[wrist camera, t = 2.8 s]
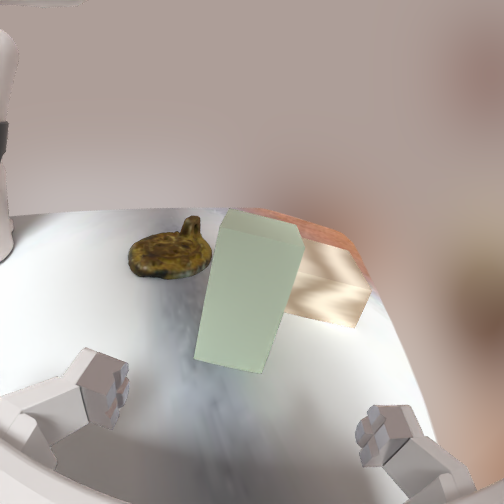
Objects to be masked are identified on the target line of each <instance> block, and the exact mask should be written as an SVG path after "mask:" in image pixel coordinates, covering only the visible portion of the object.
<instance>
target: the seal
mask: <svg viewBox="0 0 504 504" xmlns="http://www.w3.org/2000/svg"><path fill="white" fill-rule="evenodd" d="M211 258H212V250H211V248H210V246H209V244H208V243H207V242H206V241H205V240H204V239H203V238H202V236H201V233H200V217H198V216H190V217H188V218H186V219H185V221H184V224H183V226H182V229H181V232H180V233H179V232H178V231H176V232H175V233H173V232H167V233H160V234H156V235H152V236H149V237H146V238H144V239H141V240H140V241H138V242H136V243H134V244H133V245H132V247H131V248H130V251H129V255H128V260H129V263H128V264H129V266H130V269H131V270H132V272H133V273H134V274H136V275H138V276H142V277H144V276H150V277H159V278H162V279H178V278H185V277H189V276H193V275H195V274H197V273H199V272H200V271H202V270H204V269H205V268H206V267H207V266H208V265H209V263H210V261H211Z"/></svg>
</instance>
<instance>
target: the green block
mask: <svg viewBox="0 0 504 504" xmlns="http://www.w3.org/2000/svg"><path fill="white" fill-rule="evenodd" d="M304 250H305V246H304V243H303V241H302V238H301V236H300V233H299V231H298V228H297V226H296V225H295V224H291V223H287V222H283V221H279V220H275V219H271V218H267V217H263V216H259V215H255V214H251V213H247V212H243V211H239V210H234V209H230V208H229V210H228V212H227V214H226V216H225V217H224V219H223V221H222V223H221V225H220V228H219V232H218V237H217V242H216V246H215V251H214V256H213V261H212V265H211V270H210V275H209V280H208V285H207V290H206V295H205V300H204V305H203V311H202V316H201V321H200V327H199V332H198V337H197V343H196V349H195V354H194V359H195V360H199V361H203V362H207V363H211V364H216V365H220V366H224V367H229V368H234V369H238V370H243V371H248V372H254V373H259V374H262V371H263V368H264V366H265V363H266V360H267V358H268V355H269V352H270V349H271V347H272V344H273V341H274V338H275V336H276V333H277V330H278V327H279V325H280V322H281V319H282V316H283V313H284V310H285V307H286V305H287V302H288V299H289V296H290V293H291V290H292V287H293V284H294V281H295V278H296V275H297V272H298V269H299V266H300V263H301V260H302V257H303V253H304Z"/></svg>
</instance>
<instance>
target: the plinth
mask: <svg viewBox="0 0 504 504" xmlns="http://www.w3.org/2000/svg"><path fill="white" fill-rule="evenodd" d="M302 241H303V243H304V246H305V250H304V253H303V257H302V260H301V263H300V266H299V269H298V272H297V275H296V278H295V281H294V284H293V287H292V290H291V293H290V296H289V299H288V302H287V305H286V307H285V310H284V312H285V313H289V314H293V315H298V316H302V317H306V318H310V319H315V320H319V321H323V322H328V323H332V324H337V325H341V326H346V327H351V328H355V327H356V324H357V322H358V320H359V318H360V316H361V314H362V312H363V310H364V307H365V305H366V303H367V301H368V298H369V296H370V294H371V292H372V290H371V288H370V286H369V285H368V283H367V281H366V279H365V278H364V276H363V274H362V272H361V271H360V269H359V267H358V266H357V264H356V262H355V261H354V259H353V257H352V256H351V254H350V252H349V251H347V250H344V249H340V248H337V247H333V246H330V245H326V244H323V243H319V242H316V241H312V240H308V239H305V238H302Z"/></svg>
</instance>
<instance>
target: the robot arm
mask: <svg viewBox="0 0 504 504" xmlns="http://www.w3.org/2000/svg"><path fill="white" fill-rule="evenodd" d="M86 1H88V0H0V5H20V6H31V7H41V8H50V7H71V6H79V5H81V4H83V3H84V2H86ZM18 62H19V53H18V48H17V45H16V43H15V41H14V40H13V39H12V38H11V37H10V36H9V35H8V34H7V33H6V32H5V31H3V30H2V29H0V261H2V260H3V259H4V258H5V257H6V256H7V255H8V254H9V253H10V252H11V250H12V248H13V245H14V242H13V238H12V234H11V233H12V231H13V229H14V226H13V220H12V219H9V211H8V200H7V185H6V184H7V183H6V170H5V167H4V166H3V163H2V156H3V154H4V153H5V152H6V144H7V139H8V122H7V121H6V116H7V110H8V104H9V100H10V94H11V90H12V86H13V82H14V77H15V73H16V70H17V66H18ZM128 371H129V369H128V363H126V362H124V361H121V360H118V359H116V358H113V357H110V356H108V355H105V354H102V353H100V352H97V351H94V350H92V349H89V348H87V347H86V348H84V349H82V350H81V351H80V353H79V354H78V355H77V357H76V358H75V359H74V361H73V362H72V363H71V365H70V366H69V367H68V369H67V370H66V371H65V373H64V374H63V376H62V377H61V378H60V377H58V376H57V377H54V378H51V379H48V380H46V381H43V382H40V383H38V384H35V385H32V386H29V387H26V388H24V389H21V390H18V391H15V392H12V393H9V394H6V395H3V396H0V504H132V503H129V502H126V501H123V500H120V499H117V498H114V497H112V496H109V495H106V494H104V493H101V492H99V491H96V490H94V489H92V488H89V487H87V486H85V485H82V484H80V483H78V482H76V481H74V480H71V479H69V478H67V477H65V476H63V475H61V474H59V473H57V472H55V471H54V470H55V468H56V465H57V463H58V462H57V459H56V457H55V455H54V454H53V452H52V450H51V449H50V446H51V445H53V444H55V443H56V442H58V441H60V440H62V439H63V438H65V437H67V436H68V435H70V434H72V433H73V432H75V431H77V430H78V429H80V428H82V427H83V426H85V425H86V424H88V423H89V422H91V423H93V424H96V425H99V426H101V427H104V428H107V429H110V430H113V428H114V426H115V424H116V422H117V419H118V417H119V410H118V409H119V408H121V407H123V406H124V404H125V402H126V400H127V396H128V392H129V380H128V378H127V377H126V375H127V373H128ZM367 415H368V416H367V417H365V418H363V419H362V420H361V421H360V422H359V424H358V425H357V428H356V432H355V438H356V442H357V444H358V445H359V446H360V447H361V448H362V449H361V451H360V452H359V455H360V459H361V463H362V467H381V466H383V467H382V468H383V469H384V470H385V471H386V472H387V474H388V475H389V476H390V477H391V478H392V479H393V480H394V482H395V483H396V484H397V485H398V486H399V487H400V488H401V490H402V491H403V492H404V493H405V494H406V495H407V496H408V497H409V500H408V501H406V502H405V503H403V504H504V478H503V479H501V480H499V481H498V482H495V483H494V484H491V485H489V486H487V487H485V488H482V489H480V490H478V491H477V490H476V487H475V485H474V483H473V480H472V478H471V476H470V473H469V471H468V469H467V467H466V466H465V465H464V464H462V463H461V462H460V461H458V460H457V459H456V458H455V457H453V456H452V455H451V454H449V453H448V452H447V451H445V450H444V449H443V448H442V447H441V446H439V445H438V444H437V443H435V442H434V441H433V440H432V439H430V438H429V437H428V436H424V434H423V432H422V429H421V427H420V425H419V423H418V421H417V418H416V416H415V414H414V412H413V410H412V408H411V407H410V406H409V405H373V406H372V407H370V408H369V410H368V411H367Z"/></svg>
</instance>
